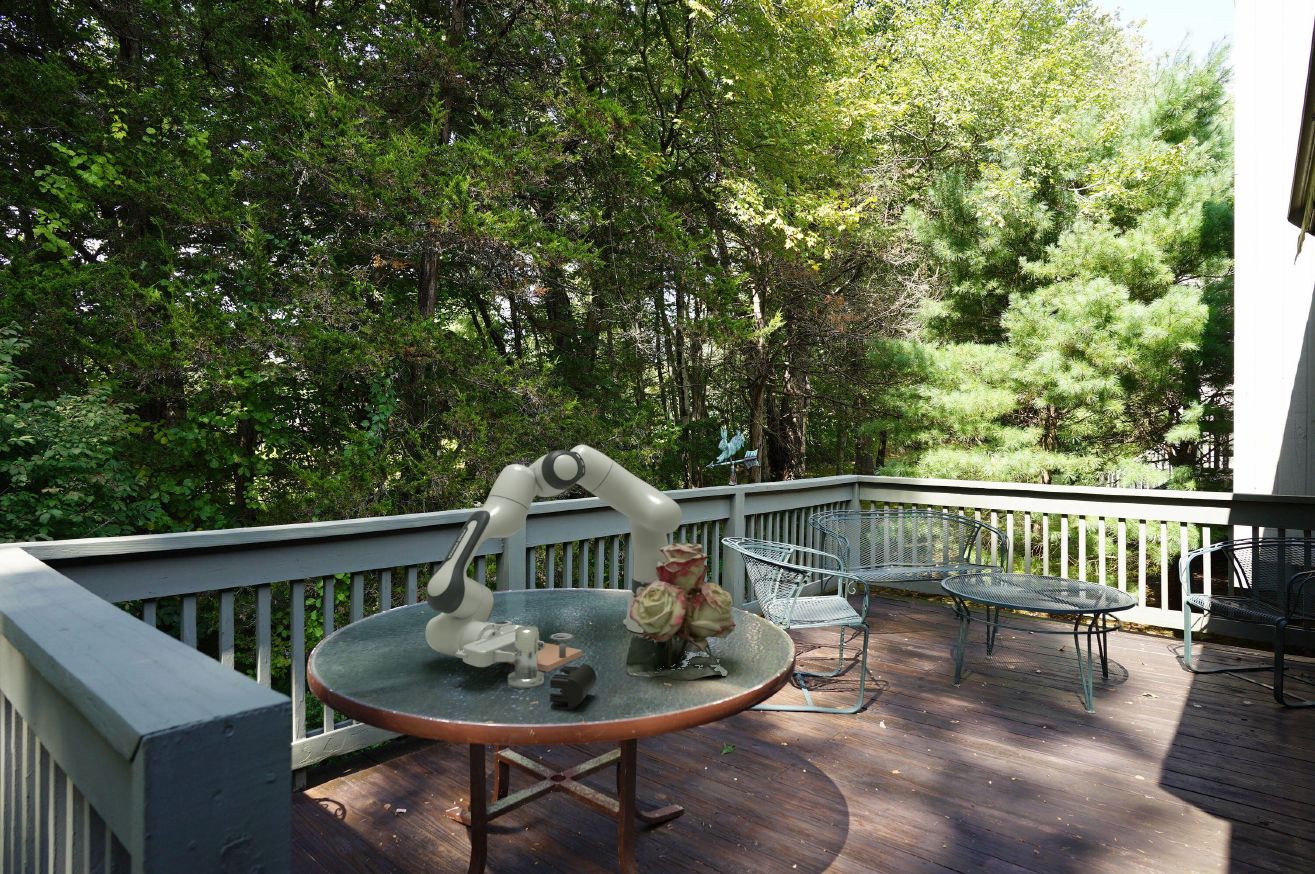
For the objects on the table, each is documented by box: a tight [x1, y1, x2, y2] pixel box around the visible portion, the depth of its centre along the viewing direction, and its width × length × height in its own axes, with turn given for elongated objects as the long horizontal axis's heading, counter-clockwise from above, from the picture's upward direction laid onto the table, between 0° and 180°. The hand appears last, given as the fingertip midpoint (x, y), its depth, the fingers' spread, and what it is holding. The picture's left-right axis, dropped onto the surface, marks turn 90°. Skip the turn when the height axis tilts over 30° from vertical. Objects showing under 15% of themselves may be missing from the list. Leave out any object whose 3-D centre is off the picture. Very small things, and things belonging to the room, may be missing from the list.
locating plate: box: [501, 642, 583, 673], centre depth 177 cm, size 14×14×4 cm
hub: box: [507, 625, 545, 690], centre depth 161 cm, size 8×8×12 cm
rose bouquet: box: [625, 541, 737, 681], centre depth 175 cm, size 26×29×30 cm
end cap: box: [549, 663, 597, 711], centre depth 150 cm, size 10×7×7 cm
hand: (529, 651), depth 160 cm, fingers open, 8 cm apart
